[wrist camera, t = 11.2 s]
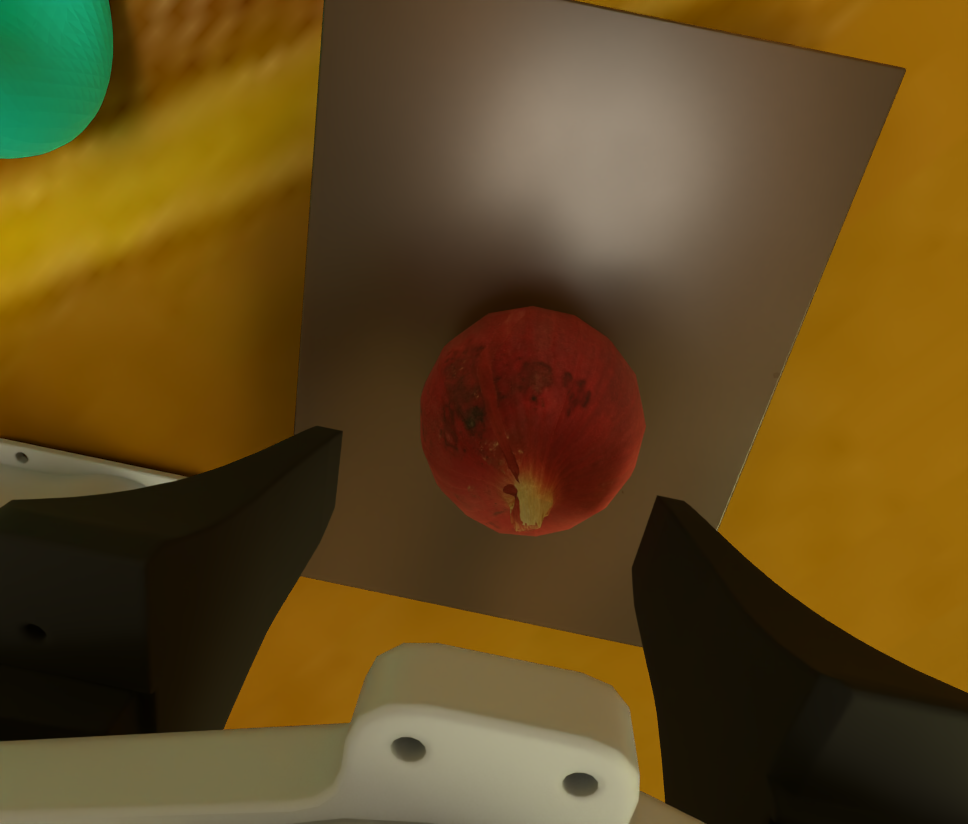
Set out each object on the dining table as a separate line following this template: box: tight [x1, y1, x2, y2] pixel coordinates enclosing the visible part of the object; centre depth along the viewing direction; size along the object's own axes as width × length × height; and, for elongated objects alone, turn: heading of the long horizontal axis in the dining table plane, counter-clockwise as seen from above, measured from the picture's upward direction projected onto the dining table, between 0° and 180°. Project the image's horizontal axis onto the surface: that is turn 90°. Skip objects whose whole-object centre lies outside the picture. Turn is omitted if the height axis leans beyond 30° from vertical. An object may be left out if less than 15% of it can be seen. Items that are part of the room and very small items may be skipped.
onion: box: [420, 306, 646, 537], centre depth 16 cm, size 6×6×8 cm
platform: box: [294, 0, 906, 647], centre depth 21 cm, size 15×20×3 cm
